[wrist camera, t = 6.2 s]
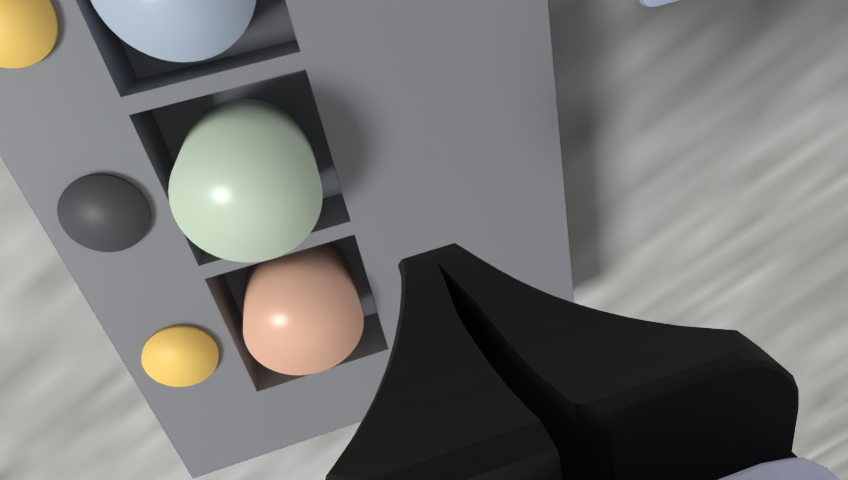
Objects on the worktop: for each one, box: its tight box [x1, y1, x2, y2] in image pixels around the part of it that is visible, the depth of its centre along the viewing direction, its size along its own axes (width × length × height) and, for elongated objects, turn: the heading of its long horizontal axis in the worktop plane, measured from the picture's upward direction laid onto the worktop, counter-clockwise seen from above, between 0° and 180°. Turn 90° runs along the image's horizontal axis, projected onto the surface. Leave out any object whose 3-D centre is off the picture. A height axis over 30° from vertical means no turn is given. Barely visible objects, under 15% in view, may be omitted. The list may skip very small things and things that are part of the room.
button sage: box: [168, 99, 323, 263], centre depth 17 cm, size 4×4×3 cm
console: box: [0, 0, 574, 478], centre depth 19 cm, size 16×22×4 cm
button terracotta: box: [243, 242, 364, 375], centre depth 21 cm, size 4×4×3 cm
